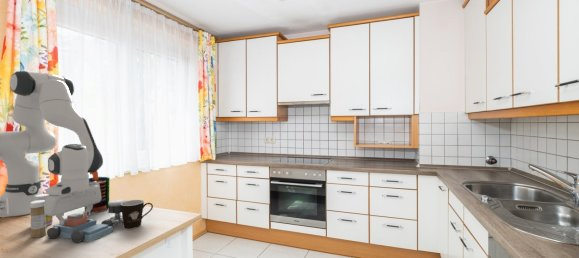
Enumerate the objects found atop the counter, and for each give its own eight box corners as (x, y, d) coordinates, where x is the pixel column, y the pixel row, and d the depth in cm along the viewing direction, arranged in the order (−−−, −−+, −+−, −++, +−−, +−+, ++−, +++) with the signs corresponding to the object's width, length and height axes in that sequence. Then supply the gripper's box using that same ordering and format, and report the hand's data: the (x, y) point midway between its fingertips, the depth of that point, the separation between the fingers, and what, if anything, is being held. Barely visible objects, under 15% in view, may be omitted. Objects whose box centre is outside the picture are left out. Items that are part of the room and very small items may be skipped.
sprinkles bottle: (36, 233, 109) (36, 199, 109) (49, 233, 110) (49, 199, 109) (27, 238, 105) (26, 203, 104) (40, 238, 105) (39, 202, 105)
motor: (94, 214, 133) (94, 172, 132) (79, 212, 134) (78, 171, 134) (112, 207, 143) (112, 168, 142) (97, 206, 144) (97, 168, 144)
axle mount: (106, 223, 121) (106, 212, 120) (118, 219, 126) (118, 208, 126) (117, 225, 119) (117, 214, 119) (128, 220, 125) (128, 210, 125)
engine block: (63, 229, 109) (63, 216, 109) (75, 224, 114) (75, 212, 114) (74, 230, 108) (74, 218, 107) (87, 226, 112) (87, 213, 112)
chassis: (43, 237, 106) (42, 227, 106) (79, 224, 119) (79, 215, 119) (83, 244, 101) (83, 233, 101) (116, 229, 114) (116, 220, 114)
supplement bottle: (39, 228, 114) (39, 197, 114) (27, 227, 116) (27, 196, 115) (56, 223, 121) (56, 193, 120) (45, 221, 122) (44, 192, 122)
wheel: (104, 212, 120) (104, 203, 120) (118, 207, 127) (118, 199, 127) (117, 214, 118) (117, 204, 118) (130, 209, 125) (130, 200, 125)
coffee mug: (117, 230, 113) (117, 206, 113) (124, 223, 122) (124, 200, 121) (149, 228, 116) (149, 204, 116) (153, 220, 125) (153, 198, 124)
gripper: (93, 179, 121) (93, 211, 121) (40, 190, 101) (41, 228, 102) (105, 180, 119) (105, 212, 120) (53, 192, 100) (54, 230, 100)
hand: (75, 219), depth 111 cm, fingers open, 8 cm apart
